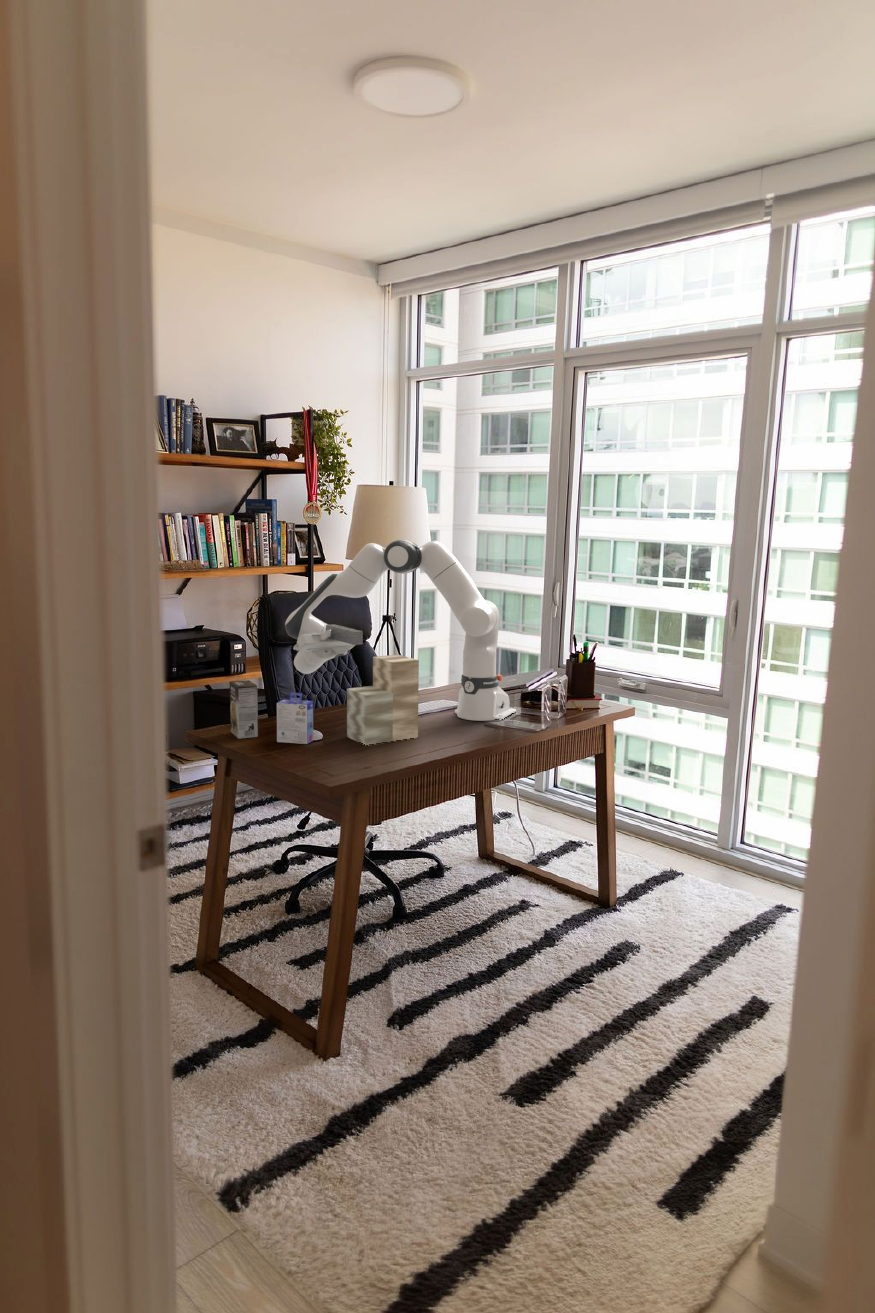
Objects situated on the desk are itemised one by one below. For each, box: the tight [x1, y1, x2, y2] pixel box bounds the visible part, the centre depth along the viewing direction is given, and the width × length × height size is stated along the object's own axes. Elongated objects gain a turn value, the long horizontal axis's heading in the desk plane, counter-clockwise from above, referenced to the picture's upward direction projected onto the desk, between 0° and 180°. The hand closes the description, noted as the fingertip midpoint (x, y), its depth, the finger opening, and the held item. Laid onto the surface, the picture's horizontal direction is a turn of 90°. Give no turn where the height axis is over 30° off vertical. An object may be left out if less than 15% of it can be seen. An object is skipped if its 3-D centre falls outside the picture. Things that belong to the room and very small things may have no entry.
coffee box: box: [228, 679, 259, 739], centre depth 272 cm, size 9×6×16 cm
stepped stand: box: [346, 654, 420, 746], centre depth 270 cm, size 12×18×24 cm, turn 124°
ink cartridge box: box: [276, 692, 314, 745], centre depth 265 cm, size 10×6×14 cm, turn 78°
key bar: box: [326, 623, 364, 646], centre depth 278 cm, size 19×3×4 cm, turn 34°
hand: (337, 631), depth 282 cm, fingers closed on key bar, 3 cm apart
